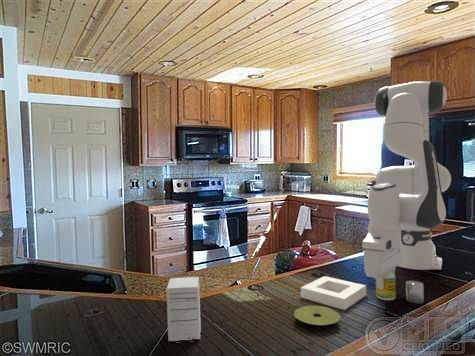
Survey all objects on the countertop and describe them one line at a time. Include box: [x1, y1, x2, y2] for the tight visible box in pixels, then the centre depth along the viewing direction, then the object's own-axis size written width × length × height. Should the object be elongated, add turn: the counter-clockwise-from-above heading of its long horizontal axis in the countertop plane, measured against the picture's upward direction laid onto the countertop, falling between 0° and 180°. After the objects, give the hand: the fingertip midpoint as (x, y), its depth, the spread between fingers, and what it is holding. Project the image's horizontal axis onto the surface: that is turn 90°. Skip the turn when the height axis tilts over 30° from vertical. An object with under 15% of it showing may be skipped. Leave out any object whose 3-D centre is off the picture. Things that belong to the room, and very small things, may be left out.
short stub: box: [405, 280, 425, 305], centre depth 94 cm, size 4×4×5 cm
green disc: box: [293, 305, 341, 326], centre depth 82 cm, size 11×11×2 cm
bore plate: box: [300, 275, 367, 311], centre depth 99 cm, size 14×14×3 cm
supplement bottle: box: [375, 266, 397, 301], centre depth 97 cm, size 5×5×10 cm
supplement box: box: [166, 276, 202, 341], centre depth 78 cm, size 7×7×13 cm
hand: (385, 285), depth 97 cm, fingers closed on supplement bottle, 5 cm apart
